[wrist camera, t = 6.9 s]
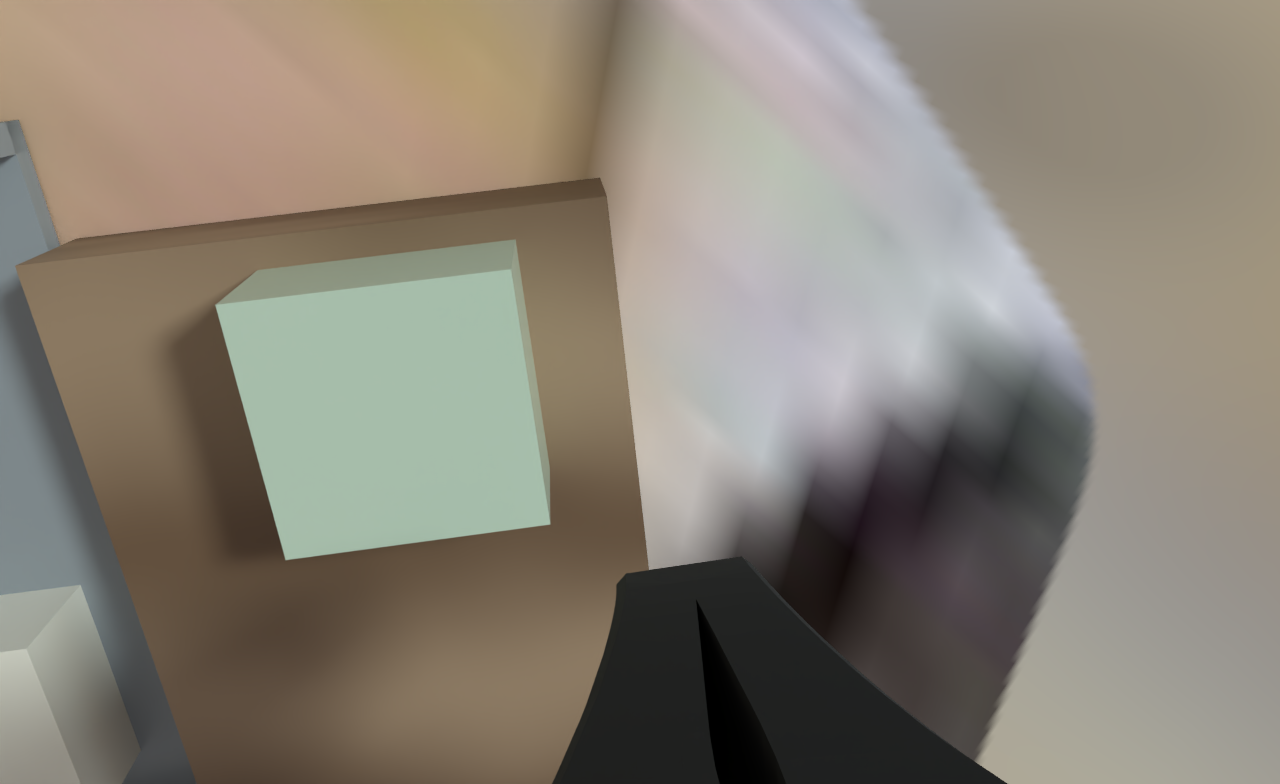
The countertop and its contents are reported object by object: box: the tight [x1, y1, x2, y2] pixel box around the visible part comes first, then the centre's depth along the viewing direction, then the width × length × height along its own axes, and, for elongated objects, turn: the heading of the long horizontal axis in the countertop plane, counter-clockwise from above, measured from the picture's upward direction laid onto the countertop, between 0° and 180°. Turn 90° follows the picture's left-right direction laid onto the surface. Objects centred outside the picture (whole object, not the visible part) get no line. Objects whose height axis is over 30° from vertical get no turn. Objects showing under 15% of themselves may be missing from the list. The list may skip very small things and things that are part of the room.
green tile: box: [215, 240, 550, 560], centre depth 14 cm, size 4×4×2 cm
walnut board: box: [15, 178, 649, 784], centre depth 18 cm, size 12×9×2 cm
